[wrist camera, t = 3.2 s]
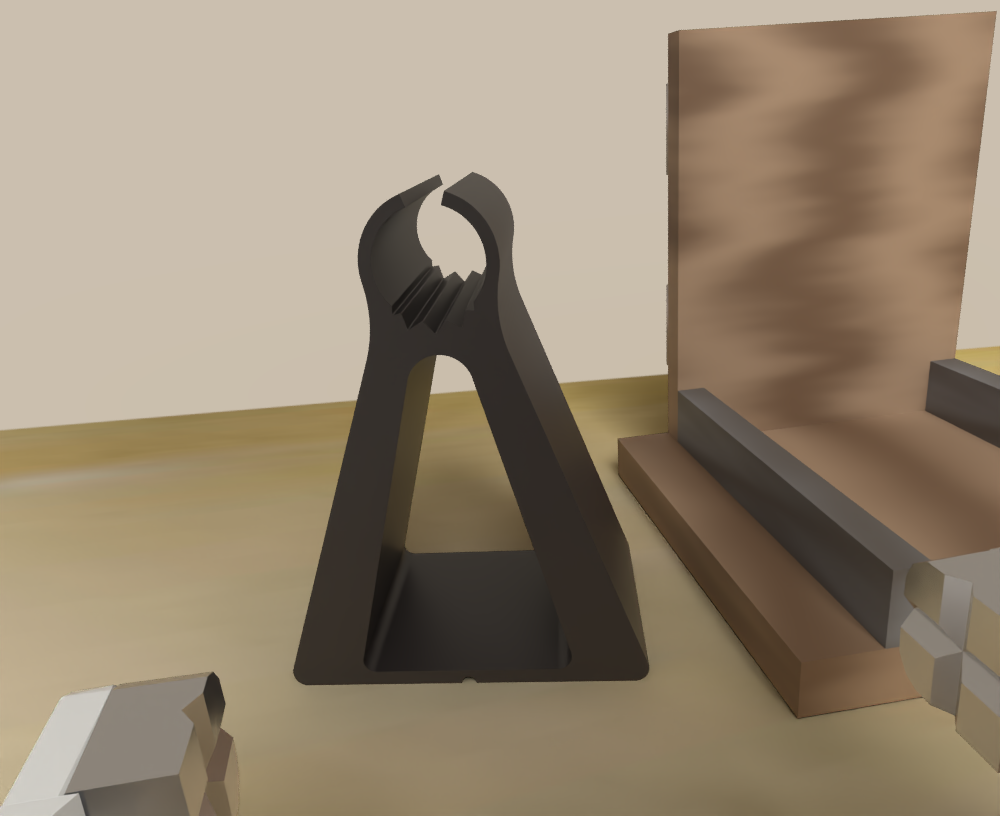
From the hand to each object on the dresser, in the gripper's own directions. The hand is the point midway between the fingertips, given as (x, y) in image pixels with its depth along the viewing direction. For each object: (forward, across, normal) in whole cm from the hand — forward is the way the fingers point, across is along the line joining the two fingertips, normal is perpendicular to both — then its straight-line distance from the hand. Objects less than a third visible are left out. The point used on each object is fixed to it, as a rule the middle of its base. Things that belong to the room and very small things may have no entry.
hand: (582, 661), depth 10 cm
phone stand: (+12, 0, +7) cm, 14 cm away
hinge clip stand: (+13, -14, +7) cm, 21 cm away
